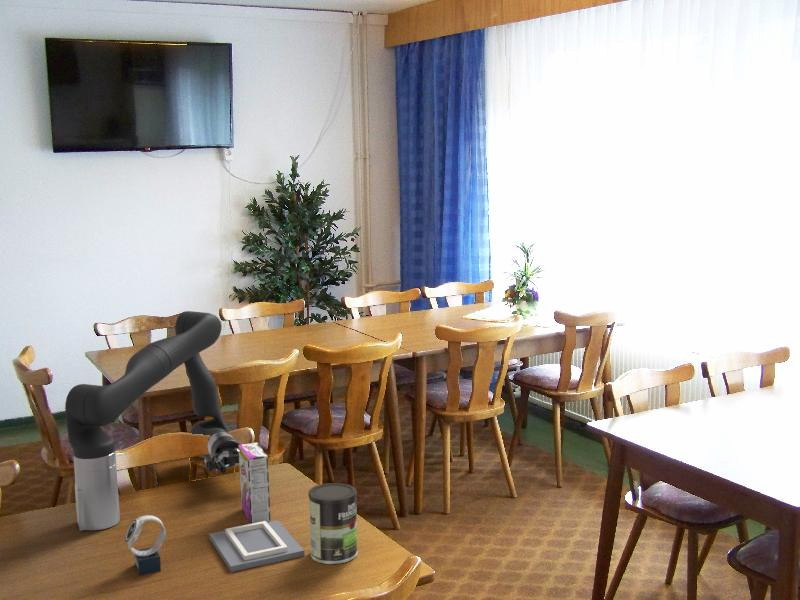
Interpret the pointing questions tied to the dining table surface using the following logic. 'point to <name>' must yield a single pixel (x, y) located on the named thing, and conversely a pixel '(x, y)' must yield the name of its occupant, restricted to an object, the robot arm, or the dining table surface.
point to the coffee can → (333, 523)
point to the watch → (147, 557)
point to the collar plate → (255, 545)
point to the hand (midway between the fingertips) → (241, 467)
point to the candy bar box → (254, 482)
